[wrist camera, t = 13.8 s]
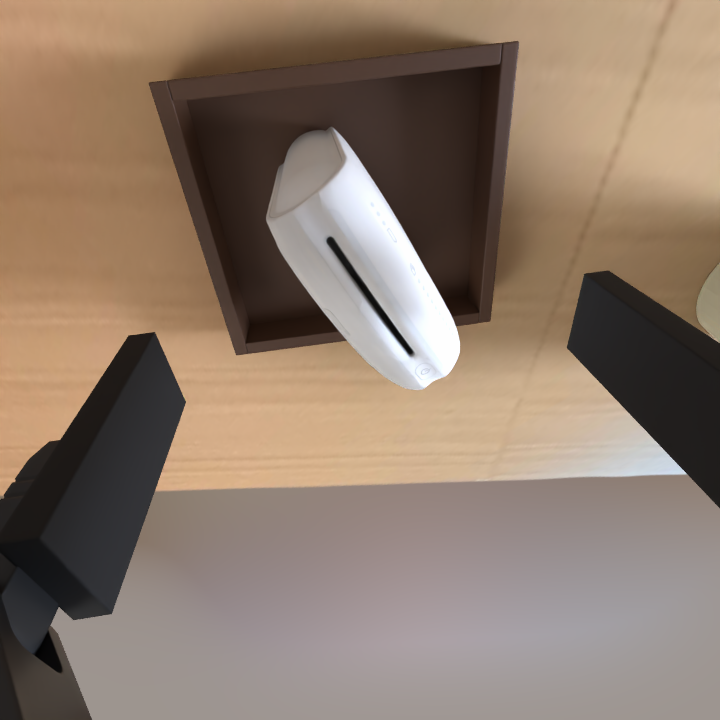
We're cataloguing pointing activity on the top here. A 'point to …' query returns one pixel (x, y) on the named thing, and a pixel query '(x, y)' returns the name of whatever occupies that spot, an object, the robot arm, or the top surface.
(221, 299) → the tray
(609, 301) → the robot arm
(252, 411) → the top surface
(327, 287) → the photo printer
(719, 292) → the reusable coffee cup
